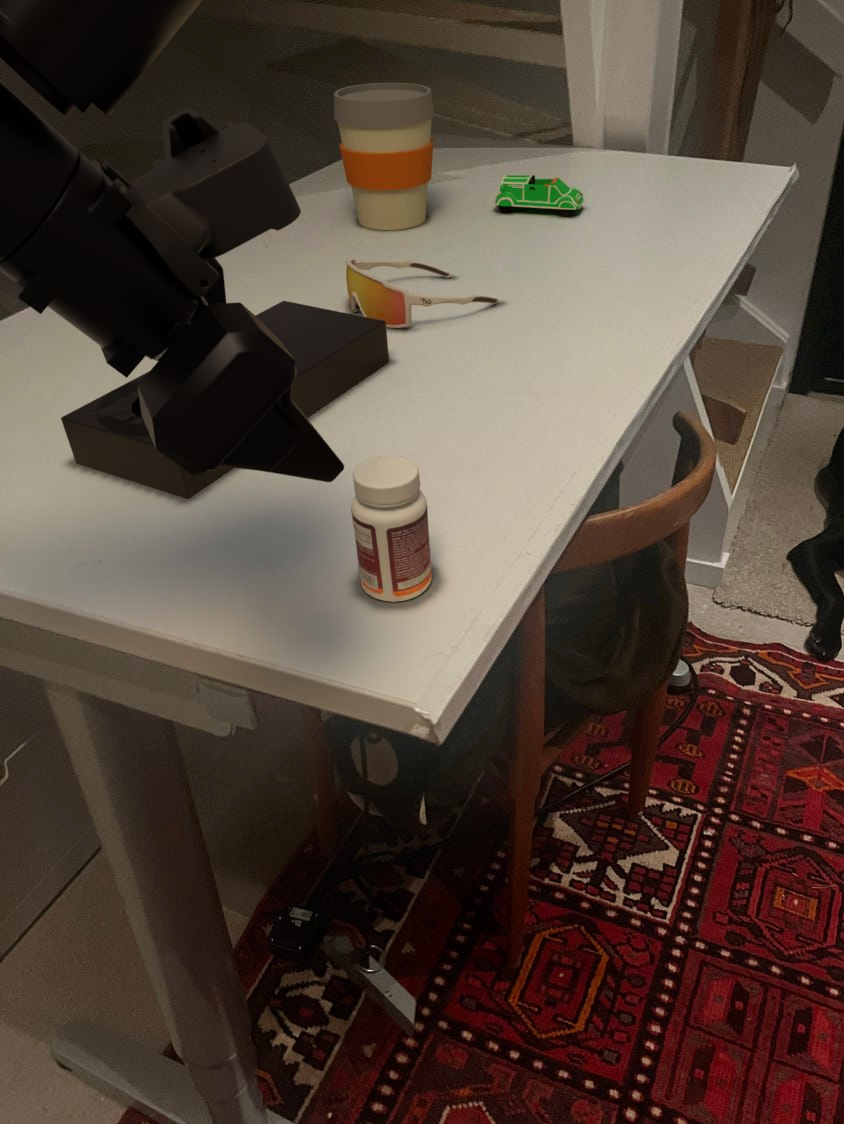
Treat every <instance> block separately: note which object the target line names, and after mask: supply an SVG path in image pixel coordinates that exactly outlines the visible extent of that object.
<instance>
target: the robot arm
mask: <svg viewBox="0 0 844 1124" xmlns="http://www.w3.org/2000/svg"><path fill="white" fill-rule="evenodd" d="M201 3H202V0H0V59H1V60H2V61H3V62H4V63H5V64H7V66H8V67H10V68H11V70H13V71H14V72H15V73H16V74H17V75H18V76H19V77H20V78H21V79H22V80H23V81H25V82H26V84H28V85H29V86H30V87H31V88H32V89H33V90H34V91H35V92H37V93H38V94H39V95H40V96H41V97H42V98H43V99H44V100H46V102H48V103H49V104H50V105H51V106H52V107H54V108H55V109H56V110H57V111H58V112H59V113H61V114H62V115H63V116H65V117H67V118H68V117H69V115H71V113H72V112H73V110H74V109H75V108H77V109H78V110H79V111H80V112H82V114H84V113H86V111H87V110H88V109H89V107H90V106H91V105H92V104H93V105H94V106H95V107H96V108H98V109H99V111H101V112H102V113H103V114H104V115H106V116H107V117H109V116H110V115H111V114H112V112H113V111H114V110H115V109H116V108H117V106H119V104H120V102H121V101H122V100H123V99H124V98H125V97H126V95H127V94H128V92H129V91H131V89H132V88H133V87H134V85H135V84H136V83H137V82H138V80H139V79H140V78H141V77H142V76H143V74H144V73H145V72H146V71H147V69H148V68H149V67H150V66H151V65H152V63H153V62H154V61H155V59H157V57H158V56H159V54H161V52H162V51H163V49H165V47H166V46H167V45H168V44H169V43H170V41H171V40H172V39H173V37H174V36H175V35H176V33H177V32H178V31H179V30H180V29H181V27H183V26H184V24H185V22H186V21H187V20H188V19H189V17H190V16H191V15H192V14H193V13H194V11H196V9H197V8H198V6H199V5H200V4H201ZM161 126H162V140H163V141H162V142H163V153H164V154H163V155H164V161H163V160H162V159H161V158H158V159H156V160H154V161H153V162H152V165H153V168H152V169H151V170H148V171H147V172H145V173H144V174H142V175H140V176H139V177H136V178H134V179H133V180H131V181H129V180H128V179H127V178H126V177H125V176H124V175H122V174H121V172H119V170H117V169H116V168H115V167H114V166H113V165H112V164H110V162H108V161H107V160H104V161H103V163H102V164H100V163H99V162H98V161H97V160H95V158H92V160H90V159H88V158H87V157H86V155H84V153H82V152H81V151H80V150H79V149H77V147H75V146H74V145H73V144H72V143H71V142H70V141H69V140H67V139H66V138H65V137H64V136H63V135H62V134H61V133H59V131H58V130H57V129H55V128H54V127H53V126H52V125H51V124H50V123H49V122H47V120H45V119H44V118H43V117H42V116H41V115H40V114H39V113H38V112H37V111H35V110H34V109H33V108H32V107H31V106H30V105H29V104H27V103H26V102H25V101H24V100H23V99H22V98H21V97H20V96H19V95H17V93H15V92H14V91H13V90H12V88H10V87H9V86H8V85H7V84H6V83H4V82H3V81H2V80H1V79H0V272H1V273H2V274H4V275H5V276H7V277H8V278H9V279H10V280H11V281H13V284H14V288H15V292H16V296H17V298H18V299H19V300H21V301H22V302H23V303H24V304H26V305H28V307H30V308H31V309H33V310H34V311H35V312H36V313H38V314H39V315H41V314H42V313H43V312H45V310H46V309H47V308H49V309H51V311H53V312H54V313H56V315H58V316H59V317H61V318H62V319H64V320H65V321H66V322H68V323H69V324H70V325H72V326H73V327H75V328H76V329H77V330H78V331H80V332H81V333H82V334H83V335H85V336H86V337H87V338H89V339H91V340H92V341H93V342H94V343H96V344H97V345H98V346H100V349H101V352H102V354H103V357H104V359H105V362H106V364H107V365H109V366H110V367H111V368H113V369H114V370H115V371H117V372H118V373H119V374H120V375H122V376H123V377H125V378H126V379H127V378H128V377H129V376H130V375H131V374H132V373H133V371H134V370H135V369H136V368H137V367H138V366H139V365H140V364H141V362H142V361H143V360H144V359H145V358H148V359H149V360H153V361H157V362H156V363H155V364H154V365H153V367H152V368H151V369H150V370H148V372H149V373H148V374H147V375H146V376H145V377H144V378H143V379H142V381H141V382H140V383H139V384H138V392H139V400H140V407H141V414H142V417H143V419H144V422H145V424H146V427H147V429H148V431H149V434H150V436H151V439H152V441H153V443H154V446H155V448H156V450H157V451H158V452H160V453H161V454H163V455H164V456H166V457H167V458H168V459H170V460H171V461H173V462H174V463H176V464H177V465H179V466H180V467H181V468H183V469H184V470H186V471H187V472H189V473H190V474H192V475H193V476H195V475H198V474H201V473H204V472H206V471H212V470H214V469H216V468H217V467H218V466H219V467H229V468H232V469H238V470H239V469H240V470H247V471H248V470H250V471H258V472H264V473H269V474H270V473H271V474H277V475H282V476H289V477H295V478H300V479H308V480H312V481H319V482H324V483H332V482H334V481H335V480H336V479H337V478H338V477H339V475H341V473H343V471H344V469H345V464H344V462H343V461H342V460H341V459H340V457H339V456H338V455H337V454H336V452H335V451H334V450H333V448H332V447H331V446H330V445H329V444H328V443H327V441H326V440H325V438H324V437H323V436H322V435H321V434H320V433H319V432H318V430H317V429H316V428H315V426H314V425H313V424H312V423H311V421H310V420H309V419H308V417H307V418H306V416H305V415H304V414H303V413H302V412H301V410H300V409H299V408H298V407H297V405H296V404H295V403H294V402H293V400H292V399H291V388H292V383H293V381H294V379H295V377H296V360H295V359H294V358H293V356H292V355H291V354H290V353H289V351H288V350H287V349H286V347H285V346H284V345H283V344H282V342H281V341H280V340H279V339H278V338H277V337H276V336H275V335H274V334H273V333H272V332H271V331H270V330H269V329H268V328H267V327H266V326H265V325H264V324H263V323H262V322H261V321H260V320H259V319H258V318H257V317H256V316H255V314H254V313H253V311H251V310H250V309H249V308H247V307H246V306H245V305H244V304H243V303H242V302H241V301H240V302H239V301H238V302H227V294H226V283H225V273H224V268H223V265H221V264H220V262H219V261H218V260H217V258H218V257H221V256H223V255H225V254H227V253H229V252H231V251H233V250H234V249H236V248H238V247H240V246H242V245H244V244H245V243H248V242H250V241H252V240H253V239H255V238H257V237H259V236H261V235H262V234H265V233H267V232H268V231H270V230H275V231H280V230H282V229H285V228H286V227H288V226H290V225H291V224H293V223H294V222H295V221H297V219H298V218H299V217H300V215H301V212H302V210H301V207H300V205H299V203H298V201H297V199H296V196H295V194H294V192H293V190H292V188H291V185H290V183H289V181H288V179H287V176H286V174H285V172H284V170H283V167H282V165H281V164H280V161H279V158H278V157H277V155H276V152H275V150H274V147H273V146H272V144H271V141H270V139H269V137H268V136H266V135H265V134H264V133H262V132H261V131H260V130H258V129H257V127H254V126H253V125H252V124H250V123H249V122H243V123H238V124H237V123H236V122H234V121H233V120H231V121H230V122H227V123H226V124H224V127H225V129H222V130H221V131H219V130H218V129H217V128H216V127H214V126H213V125H212V124H211V123H209V121H207V120H206V119H205V118H204V117H202V116H201V115H200V114H199V113H197V111H195V110H194V109H193V108H192V107H187V108H185V109H183V110H182V111H179V112H178V113H175V114H174V115H172V116H169V117H167V118H165V119H163V120H162V122H161Z"/></svg>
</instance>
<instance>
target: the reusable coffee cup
mask: <svg viewBox="0 0 844 1124" xmlns="http://www.w3.org/2000/svg"><path fill="white" fill-rule="evenodd" d="M333 114H334V115H333V116H334V117H333V118H334V119H333V120H334V121H335V122H336V123H337V126H338V131H339V136H340V140H341V142H340V143H339V144H338V147H339V151H340V157H341V160H342V164H343V168H344V175H345V178H346V182H347V184H348V185H350V187H351V191H352V197H353V200H354V206H355V209H356V214H357V219H358V222H359V224H360V225H361V226H362V227H364V228H367V229H371V230H379V231H397V230H405V229H411V228H414V227H418V226H419V225H422V224H423V223H425V222H426V217H427V199H428V184H429V182H430V181H431V179H432V172H433V171H432V170H433V158H434V157H433V156H434V139H433V138H432V137H431V136H432V120H433V118H434V117H435V109H434V102H433V94H432V89H431V88H430V87H428V86H426V85H422V84H417V83H407V82H377V83H376V82H373V83H364V84H363V83H361V84H355V85H351V86H346V87H342V88H340V89H337V90H335V92H334V93H333Z"/></svg>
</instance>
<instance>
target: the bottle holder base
mask: <svg viewBox="0 0 844 1124" xmlns="http://www.w3.org/2000/svg"><path fill="white" fill-rule="evenodd" d="M254 315H255V314H254ZM255 316H256V317H257V318H258V319H259V320H260V321H261V322H262V323H263V324H264V325H265V326H266V327H267V328H268V329H269V330H270V331H271V332H272V333H273V334H274V335H275V336H276V337H277V338H278V339H279V340H280V341H281V342H282V344H283V345H284V346H285V347H286V349H287V350H288V351H289V353H290V354H291V355H292V356H293V358H294V359H295V360H296V377H295V379H294V381H293V383H292V388H291V399H292V400H293V402H294V403H295V404H296V405H297V407H298V408H299V409H300V410H301V412H302V413H303V414H304V415H305V416H306V418H307V419H308V417H310V416H311V415H313V414H314V413H316V412H317V411H319V410H320V409H322V408H323V407H325V406H327V405H328V404H329V403H331V402H332V401H333V400H335V399H337V398H338V397H339V396H341V395H343V394H344V393H345V392H347V391H348V390H350V389H352V388H353V387H354V386H355V385H357V384H358V383H360V382H361V381H363V380H364V379H365V378H368V377H369V376H371V375H372V374H373V373H375V372H377V370H379V369H381V368H382V367H383V366H385V365H386V364H388V363H389V362H390V358H389V357H390V355H389V343H388V331H387V327H386V321H383V320H378V319H373V318H368V317H364V315H358V314H352V313H347V312H342V311H339V310H337V311H336V310H333V309H327V308H322V307H319V306H312V305H307V304H303V303H297V302H293V301H287V300H282V301H280V302H278V303H276V304H274V305H273V306H271V307H269V308H267V309H264V310H263V311H260V312H259V313H257V314H256V315H255ZM148 373H149V371H147V372H145V373H143V374H140V375H139V376H137V377H135V378H133V379H131V380H130V381H128V382H126V383H124V384H122V385H120V386H119V387H117V388H114V389H113V390H110V391H109V392H107V393H105V394H103V395H102V396H99V397H98V398H95V399H94V400H92V401H90V402H88V403H86V404H84V405H82V406H80V407H79V408H76V409H74V410H73V411H71V412H69V413H66V414H65V415H63V416H61V417H60V420H61V422H62V425H63V429H64V432H65V435H66V438H67V441H68V444H69V447H70V450H71V452H72V456H73V458H74V461H75V463H76V464H79V465H82V466H85V467H88V468H91V469H94V470H98V471H101V472H104V473H107V474H109V475H113V476H117V477H119V478H123V479H125V480H129V481H132V482H135V483H139V484H142V485H144V486H148V487H151V488H154V489H157V490H160V491H163V492H168V493H170V494H173V495H175V496H176V495H177V496H179V497H183V498H185V499H189V498H191V497H193V496H194V495H195V494H197V493H198V492H200V491H201V490H203V489H204V488H205V487H207V486H209V485H210V484H212V483H213V482H214V481H216V480H217V479H219V478H220V477H222V476H224V474H226V473H228V472H229V471H231V470H232V469H233V468H229V467H219V466H218V467H217V468H216V469H214V470H212V471H206V472H204V473H201V474H198V475H195V476H193V475H192V474H190V473H189V472H187V471H186V470H184V469H183V468H181V467H180V466H179V465H177V464H176V463H174V462H173V461H171V460H170V459H168V458H167V457H166V456H164V455H163V454H161V453H160V452H158V451H157V450H156V448H155V446H154V443H153V441H152V439H151V436H150V434H149V431H148V429H147V427H146V424H145V422H144V419H143V417H142V414H141V407H140V400H139V392H138V384H139V383H140V382H141V381H142V379H143V378H144V377H145V376H146V375H147V374H148Z"/></svg>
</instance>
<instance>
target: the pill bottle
mask: <svg viewBox="0 0 844 1124" xmlns="http://www.w3.org/2000/svg"><path fill="white" fill-rule="evenodd" d="M352 478H353V479H352V480H353V487H354V488H353V489H354V492H355V496H354V497H353V500H352V502H351V507H350V512H351V519H352V525H353V533H354V540H355V546H356V554H357V555H356V556H357V562H358V570H359V577H360V583H361V584H360V585H361V587H362V589H363V590H364V592H365V594H368V595H369V596H370V597H372V598H373V599H377V600H379V601H380V600H381V601H383V602H384V601H385V602H403V601H407V600H412V599H413V598H416V597H418V596H420V595H422V594H423V593H424V592H425V591H426V590H428V588H429V586H430V584H431V583H432V577H433V575H432V559H431V546H430V545H431V544H430V531H429V517H428V501H427V499H426V496H425V494H424V492H422V490H421V480H420V479H421V478H420V470H419V466H418V465H417V463H415V462H414V461H413V460H412V459H410V458H407V457H404V456H400V455H380V456H375V457H370V458H367V459H366V460H364V461H362V462H360V463H359V464H358V465H357V466H356V467H355V468H354V471H353V472H352Z"/></svg>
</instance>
